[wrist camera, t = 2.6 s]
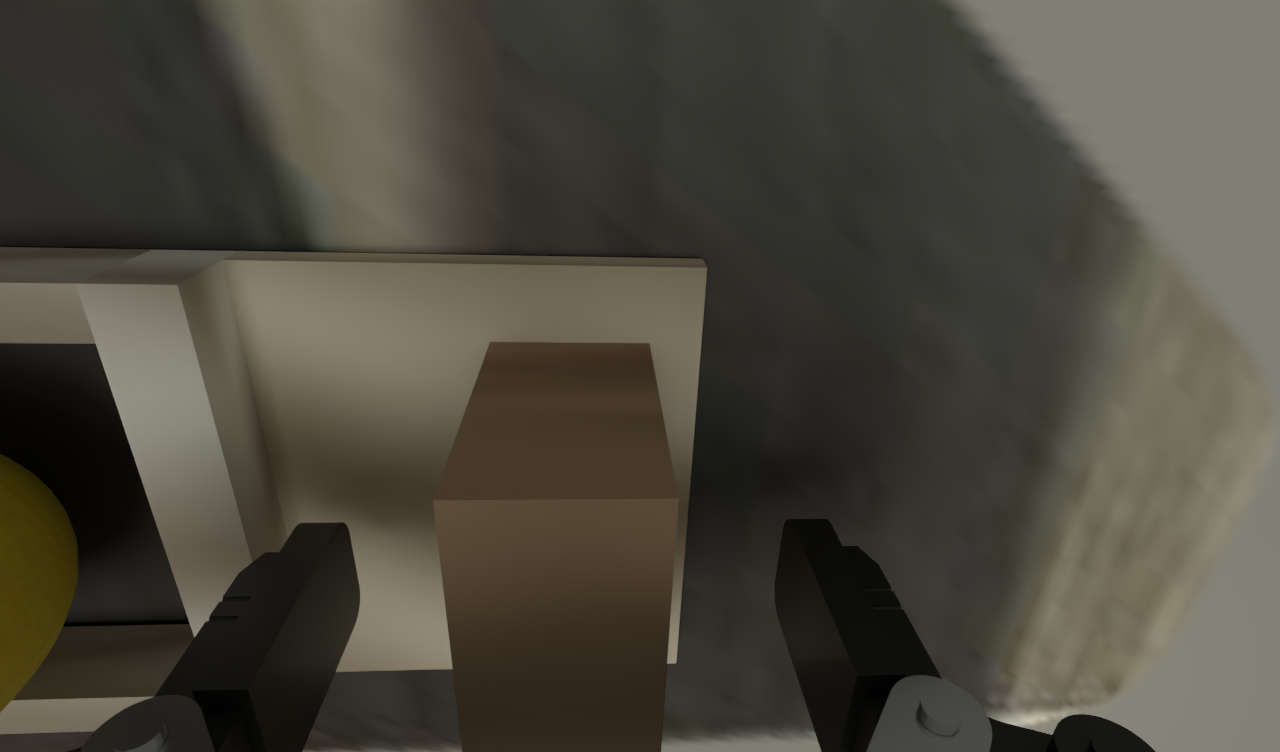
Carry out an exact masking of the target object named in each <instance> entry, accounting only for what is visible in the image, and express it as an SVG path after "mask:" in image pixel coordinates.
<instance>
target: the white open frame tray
mask: <svg viewBox="0 0 1280 752" xmlns="http://www.w3.org/2000/svg"><path fill="white" fill-rule="evenodd" d="M706 278H707V266H706V264H705V262H704V260H703V259H693V258H633V257H572V256H512V255H452V254H391V253H331V252H271V251H210V250H150V249H90V248H29V247H0V343H58V344H96V346H97V349H98V352H99V355H100V358H101V361H102V364H103V367H104V370H105V373H106V376H107V379H108V382H109V385H110V388H111V391H112V394H113V397H114V400H115V403H116V406H117V409H118V412H119V415H120V418H121V421H122V424H123V427H124V430H125V433H126V435H127V438H128V441H129V444H130V447H131V450H132V453H133V456H134V459H135V462H136V465H137V468H138V471H139V474H140V477H141V480H142V483H143V486H144V489H145V492H146V495H147V498H148V501H149V504H150V507H151V510H152V513H153V516H154V519H155V522H156V525H157V528H158V531H159V534H160V537H161V540H162V543H163V546H164V549H165V552H166V555H167V558H168V560H169V563H170V566H171V569H172V572H173V575H174V578H175V581H176V584H177V587H178V590H179V593H180V596H181V599H182V602H183V605H184V608H185V611H186V614H187V617H188V620H189V623H190V624H176V625H126V626H76V627H62V629H61V632H60V634H59V636H58V638H57V640H56V642H55V643H54V645H53V647H52V648H51V650H50V652H49V653H48V655H47V656H46V658H45V660H44V661H43V662H42V664H41V665H40V666H39V668H38V669H37V671H36V672H35V673H34V675H33V676H32V677H31V679H30V680H29V681H28V682H27V683H26V684H25V686H24V687H23V688H22V689H21V690H20V691H19V693H18V694H17V695H16V696H15V697H14V698H13V699H12V701H11V702H10V703H9V704H8V705H7V706H6V707H5V708H4V709H3V710H2V712H1V713H0V734H20V733H53V732H86V731H95V730H97V729H98V728H99V727H100V726H101V725H102V724H103V723H104V722H106V721H107V720H108V719H110V718H111V717H112V716H114V715H115V714H117V713H119V712H120V711H122V710H123V709H125V708H127V707H129V706H131V705H133V704H136V703H138V702H141V701H143V700H146V699H149V698H153V697H154V696H155V695H156V693H157V692H158V690H159V689H160V687H161V686H162V684H163V683H164V682H165V680H166V679H167V677H168V676H169V674H170V673H171V671H172V670H173V668H174V667H175V665H176V664H177V663H178V661H179V660H180V658H181V657H182V655H183V654H184V652H185V651H186V649H187V648H188V647H189V645H190V644H191V642H192V641H193V639H194V638H195V636H196V635H197V633H198V632H199V630H200V629H201V628H202V626H203V625H204V623H205V622H207V621H209V616H210V614H211V613H212V611H213V610H214V609H215V607H216V606H217V604H218V603H219V601H222V600H223V595H224V594H225V593H226V591H227V590H228V588H229V587H230V585H231V584H232V582H233V581H234V579H235V578H236V576H237V575H238V574H239V573H240V572H241V571H242V570H243V569H245V568H246V567H247V566H248V565H250V564H251V563H252V562H254V561H255V560H256V559H257V558H259V557H260V556H261V555H262V554H264V553H265V552H280V550H281V549H282V547H283V546H284V544H285V542H286V541H287V539H288V538H289V536H290V534H291V533H292V531H293V530H294V528H295V527H296V526H297V525H298V524H300V523H330V522H343V523H345V524H346V525H347V527H348V529H349V533H350V538H351V543H352V549H353V554H354V559H355V565H356V570H357V575H358V581H359V586H360V606H359V613H358V617H357V621H356V624H355V626H354V629H353V631H352V634H351V636H350V638H349V641H348V643H347V646H346V648H345V650H344V653H343V655H342V657H341V660H340V662H339V665H338V667H337V669H336V672H352V671H392V670H432V669H453V676H454V684H455V693H456V701H457V710H458V718H459V727H460V735H461V744H462V752H661V743H662V729H663V714H664V700H665V686H666V672H667V664H671V663H676V660H677V647H678V634H679V622H680V609H681V596H682V583H683V571H684V558H685V545H686V532H687V520H688V507H689V494H690V481H691V469H692V456H693V443H694V431H695V418H696V405H697V392H698V380H699V367H700V354H701V341H702V329H703V316H704V303H705V290H706Z"/></svg>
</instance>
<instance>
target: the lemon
mask: <svg viewBox="0 0 1280 752" xmlns="http://www.w3.org/2000/svg"><path fill="white" fill-rule="evenodd" d="M78 573H79V566H78V547H77V540H76V535H75V533H74V530H73V528H72V525H71V522H70V520H69V517H68V515H67V513H66V511H65V509H64V507H63V506H62V505H61V503H60V502H59V500H58V499H57V498H56V496H55V495H54V493H53V492H52V491H51V489H50V488H49V487H47V486H46V485H45V484H44V483H43V482H42V481H41V480H40V479H39V478H38V477H37V476H36V475H34V474H33V473H32V472H31V471H29V470H28V469H26V468H24V467H23V466H21V465H20V464H18V463H16V462H15V461H13V460H12V459H10V458H8V457H6V456H4V455H1V454H0V713H1V712H2V710H3V709H4V708H5V707H6V706H7V705H8V704H9V703H10V702H11V701H12V699H13V698H14V697H15V696H16V695H17V694H18V693H19V691H20V690H21V689H22V688H23V687H24V686H25V684H26V683H27V682H28V681H29V680H30V679H31V677H32V676H33V675H34V673H35V672H36V671H37V669H38V668H39V666H40V665H41V664H42V662H43V661H44V660H45V658H46V656H47V655H48V653H49V652H50V650H51V648H52V647H53V645H54V643H55V642H56V640H57V638H58V636H59V634H60V632H61V629H62V627H63V625H64V623H65V620H66V617H67V615H68V612H69V609H70V606H71V604H72V601H73V598H74V594H75V591H76V588H77V583H78Z"/></svg>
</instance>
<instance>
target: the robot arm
mask: <svg viewBox="0 0 1280 752" xmlns="http://www.w3.org/2000/svg"><path fill="white" fill-rule="evenodd" d="M775 604H776V611H777V615H778V619H779V622H780V625H781V628H782V631H783V634H784V637H785V640H786V643H787V647H788V650H789V653H790V656H791V659H792V662H793V665H794V668H795V671H796V674H797V677H798V680H799V683H800V687H801V690H802V693H803V696H804V699H805V702H806V705H807V708H808V711H809V714H810V717H811V720H812V724H813V727H814V730H815V733H816V736H817V739H818V742H819V745H820V748H821V751H822V752H1155V751H1154V750H1153V749H1152V748H1151V747H1150V746H1149V745H1148V744H1147V743H1146V742H1144V741H1143V740H1142V739H1141V738H1140V737H1138V736H1137V735H1135V734H1134V733H1132V732H1131V731H1129V730H1128V729H1126V728H1124V727H1122V726H1120V725H1118V724H1116V723H1114V722H1112V721H1110V720H1107V719H1103V718H1101V717H1097V716H1092V715H1084V714H1080V715H1072V716H1068V717H1066V718H1064V719H1062V720H1061V721H1060V722H1059V723H1058V725H1057V727H1056V729H1055V731H1054V733H1053V735H1050V734H1045V733H1042V732H1038V731H1034V730H1030V729H1026V728H1022V727H1018V726H1014V725H1010V724H1006V723H1003V722H1000V721H997V720H994V719H992V718H989V717H987V715H986V713H985V711H984V710H983V709H982V707H981V706H980V705H979V704H978V702H977V701H976V700H975V699H974V698H973V697H971V696H970V695H969V694H968V693H967V692H965V691H964V690H962V689H961V688H959V687H958V686H956V685H954V684H952V683H950V682H948V681H946V680H943V679H942V678H941V676H940V675H939V673H938V671H937V669H936V667H935V666H934V664H933V662H932V660H931V658H930V657H929V655H928V653H927V651H926V649H925V648H924V646H923V644H922V642H921V640H920V639H919V637H918V635H917V633H916V631H915V630H914V628H913V626H912V624H911V622H910V621H909V619H908V617H907V615H906V613H905V612H904V610H901V604H900V603H899V601H898V599H897V597H896V595H895V593H894V592H893V591H891V586H890V584H889V583H888V581H887V579H886V577H885V575H884V574H883V572H882V570H881V568H880V566H879V565H878V564H877V563H876V562H875V561H874V560H872V559H871V558H870V557H869V556H868V555H867V554H866V553H864V552H863V551H862V550H861V549H860V548H859V547H858V546H842V545H841V543H840V541H839V539H838V537H837V535H836V533H835V531H834V529H833V527H832V525H831V523H830V522H829V520H827V519H788V520H786V522H785V524H784V528H783V534H782V540H781V547H780V553H779V560H778V566H777V573H776V579H775ZM359 606H360V586H359V581H358V575H357V570H356V565H355V559H354V554H353V549H352V543H351V538H350V533H349V529H348V527H347V525H346V524H345V523H343V522H330V523H300V524H298V525H297V526H296V527H295V528H294V530H293V531H292V533H291V534H290V536H289V538H288V539H287V541H286V542H285V544H284V546H283V547H282V549H281V550H280V552H265V553H264V554H262V555H261V556H260V557H259V558H257V559H256V560H255V561H254V562H252V563H251V564H250V565H248V566H247V567H246V568H245V569H243V570H242V571H241V572H240V573H239V574H238V575H237V576H236V578H235V579H234V581H233V582H232V584H231V585H230V587H229V588H228V590H227V591H226V593H225V594H224V595H223V600H222V601H219V603H218V604H217V606H216V607H215V609H214V610H213V611H212V613H211V614H210V616H209V621H207V622H205V623H204V625H203V626H202V628H201V629H200V630H199V632H198V633H197V635H196V636H195V638H194V639H193V641H192V642H191V644H190V645H189V647H188V648H187V649H186V651H185V652H184V654H183V655H182V657H181V658H180V660H179V661H178V663H177V664H176V665H175V667H174V668H173V670H172V671H171V673H170V674H169V676H168V677H167V679H166V680H165V682H164V683H163V684H162V686H161V687H160V689H159V690H158V692H157V693H156V695H155V696H154V697H153V698H149V699H146V700H143V701H141V702H138V703H136V704H133V705H131V706H129V707H127V708H125V709H123V710H122V711H120V712H119V713H117V714H115V715H114V716H112V717H111V718H110V719H108V720H107V721H106V722H104V723H103V724H102V725H101V726H100V727H99V728H98V729H97V730H95V732H94V733H93V734H92V735H91V736H90V737H89V738H88V740H87V741H86V743H85V744H84V745H83V747H80V748H77V749H74V750H71V751H68V752H302V750H303V748H304V746H305V743H306V741H307V738H308V736H309V734H310V731H311V729H312V727H313V724H314V722H315V719H316V717H317V715H318V712H319V710H320V707H321V705H322V703H323V700H324V698H325V696H326V693H327V691H328V688H329V686H330V684H331V681H332V679H333V677H334V674H335V672H336V669H337V667H338V665H339V662H340V660H341V657H342V655H343V653H344V650H345V648H346V646H347V643H348V641H349V638H350V636H351V634H352V631H353V629H354V626H355V624H356V621H357V617H358V613H359Z"/></svg>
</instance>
